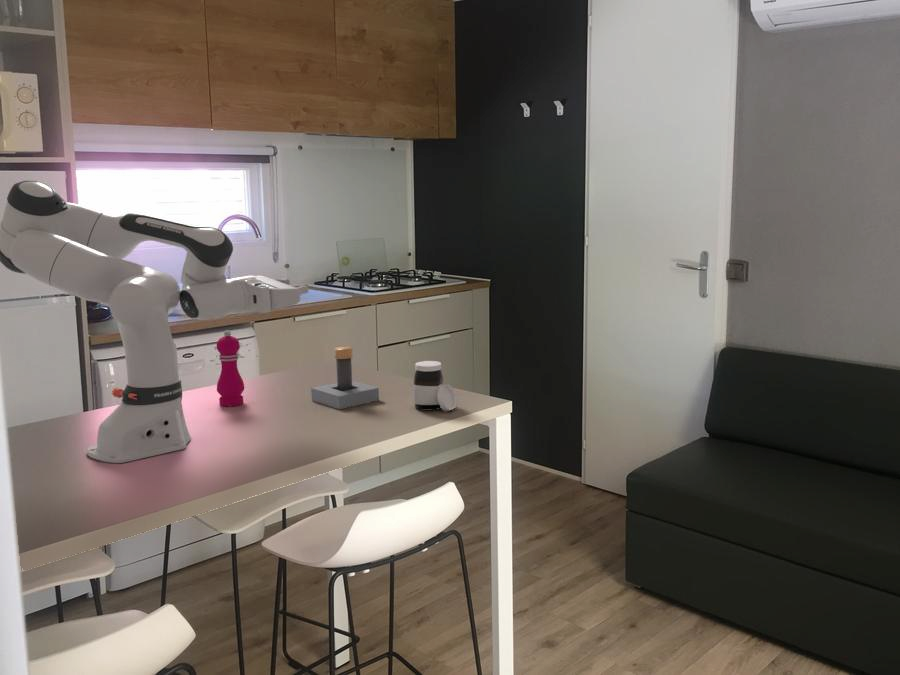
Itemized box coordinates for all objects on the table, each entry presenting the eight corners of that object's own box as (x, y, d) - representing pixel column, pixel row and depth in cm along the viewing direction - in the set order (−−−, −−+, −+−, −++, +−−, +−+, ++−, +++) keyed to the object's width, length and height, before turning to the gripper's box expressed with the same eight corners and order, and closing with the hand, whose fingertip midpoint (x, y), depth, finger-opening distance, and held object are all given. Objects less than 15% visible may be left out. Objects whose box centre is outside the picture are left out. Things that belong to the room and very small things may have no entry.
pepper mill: (240, 406, 224) (236, 332, 221) (213, 406, 225) (209, 332, 222) (248, 400, 232) (244, 328, 228) (223, 400, 232) (218, 328, 229)
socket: (339, 409, 221) (339, 396, 220) (311, 400, 230) (311, 387, 230) (378, 400, 230) (378, 387, 229) (350, 392, 239) (350, 380, 238)
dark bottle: (350, 401, 227) (347, 350, 224) (333, 400, 228) (331, 349, 226) (357, 397, 232) (355, 347, 229) (340, 396, 233) (338, 346, 230)
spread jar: (417, 401, 228) (416, 359, 226) (459, 402, 227) (458, 359, 225) (410, 413, 216) (409, 369, 214) (455, 414, 215) (454, 369, 213)
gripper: (230, 298, 217) (278, 289, 225) (268, 314, 202) (318, 305, 210) (228, 274, 215) (277, 266, 223) (266, 289, 200) (317, 280, 208)
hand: (297, 285), depth 217 cm, fingers open, 8 cm apart
